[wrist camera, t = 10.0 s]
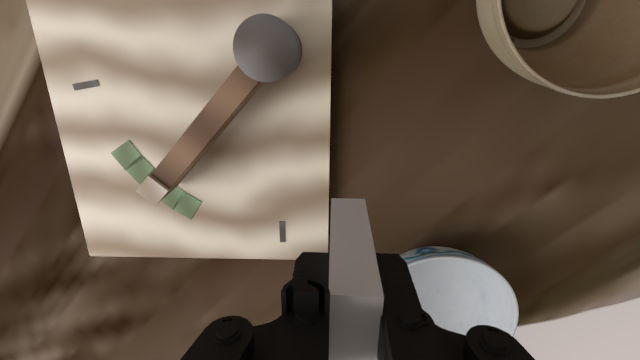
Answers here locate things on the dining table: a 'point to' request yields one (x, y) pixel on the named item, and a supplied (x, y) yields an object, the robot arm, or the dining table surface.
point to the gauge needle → (229, 97)
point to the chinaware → (461, 290)
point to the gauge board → (176, 116)
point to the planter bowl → (567, 43)
